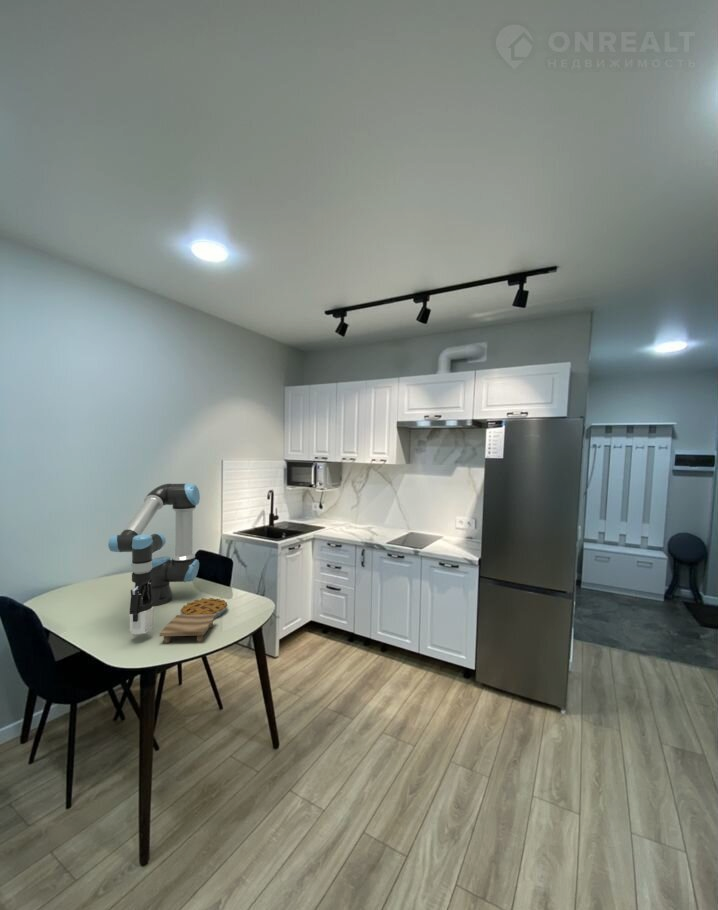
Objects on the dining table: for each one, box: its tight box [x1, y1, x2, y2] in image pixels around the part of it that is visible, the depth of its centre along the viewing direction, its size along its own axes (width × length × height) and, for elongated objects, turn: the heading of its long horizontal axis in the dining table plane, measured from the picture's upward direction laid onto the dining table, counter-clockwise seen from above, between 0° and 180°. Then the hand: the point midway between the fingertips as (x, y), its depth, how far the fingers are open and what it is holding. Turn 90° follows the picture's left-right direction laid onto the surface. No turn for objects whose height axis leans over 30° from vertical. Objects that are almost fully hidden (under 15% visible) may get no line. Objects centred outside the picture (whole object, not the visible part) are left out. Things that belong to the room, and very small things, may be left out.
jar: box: [129, 599, 154, 635], centre depth 160 cm, size 9×8×12 cm
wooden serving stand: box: [158, 614, 216, 644], centre depth 165 cm, size 18×18×5 cm
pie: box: [179, 597, 228, 619], centre depth 187 cm, size 22×22×5 cm
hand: (141, 623), depth 160 cm, fingers closed on jar, 8 cm apart
